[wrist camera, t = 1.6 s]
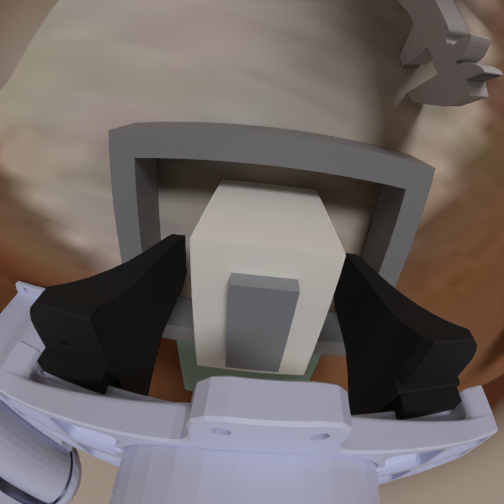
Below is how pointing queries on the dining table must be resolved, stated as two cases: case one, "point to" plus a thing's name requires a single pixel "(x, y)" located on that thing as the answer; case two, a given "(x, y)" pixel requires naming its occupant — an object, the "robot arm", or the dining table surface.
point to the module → (262, 277)
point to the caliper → (445, 54)
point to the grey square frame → (274, 154)
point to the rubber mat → (198, 373)
